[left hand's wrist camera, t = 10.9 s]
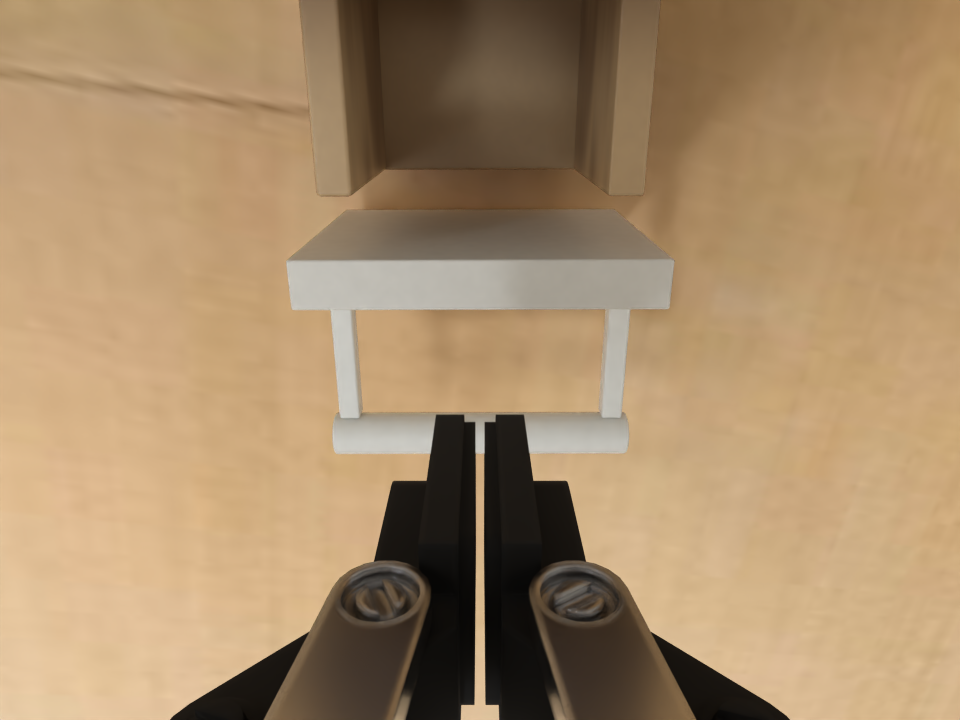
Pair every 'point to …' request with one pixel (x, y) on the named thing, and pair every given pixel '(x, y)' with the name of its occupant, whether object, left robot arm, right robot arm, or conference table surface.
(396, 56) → the drawer
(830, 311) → the conference table surface
